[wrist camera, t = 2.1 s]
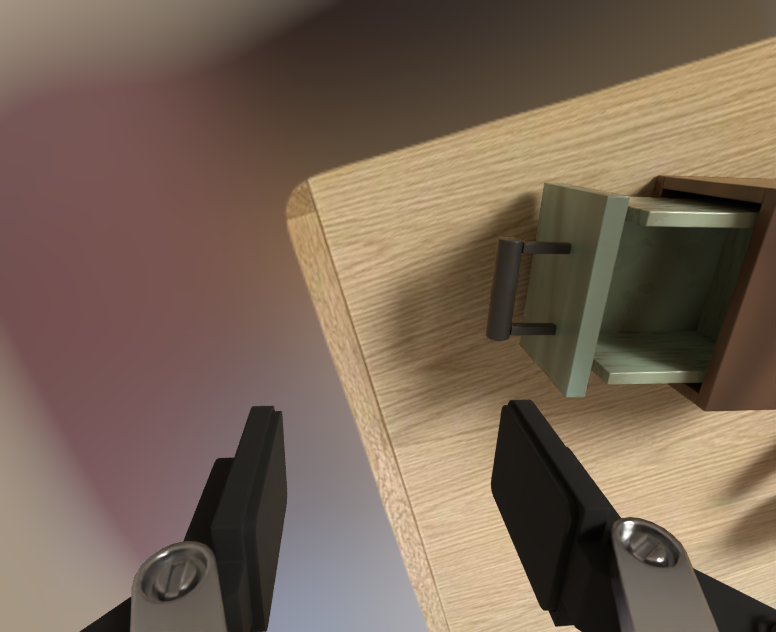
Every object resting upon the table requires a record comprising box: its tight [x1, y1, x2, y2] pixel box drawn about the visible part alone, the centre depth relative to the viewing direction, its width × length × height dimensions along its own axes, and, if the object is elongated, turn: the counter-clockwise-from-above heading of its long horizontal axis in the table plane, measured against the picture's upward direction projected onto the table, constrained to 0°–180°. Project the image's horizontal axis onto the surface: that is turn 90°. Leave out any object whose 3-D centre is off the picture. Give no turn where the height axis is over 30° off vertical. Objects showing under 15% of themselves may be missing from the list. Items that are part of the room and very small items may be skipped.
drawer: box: [486, 183, 762, 398], centre depth 27 cm, size 18×11×7 cm, turn 88°
